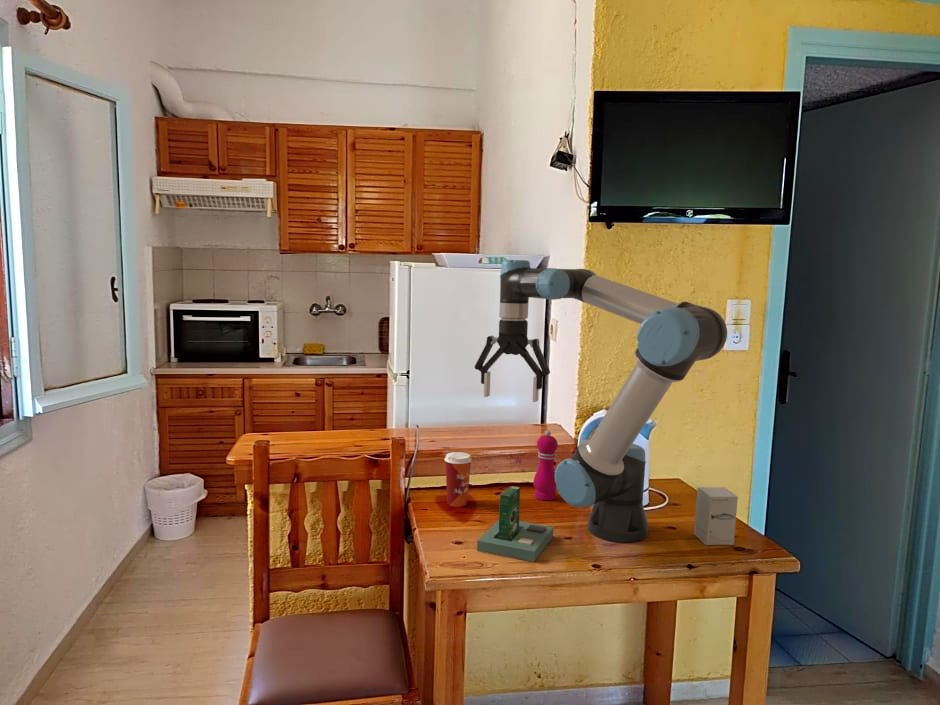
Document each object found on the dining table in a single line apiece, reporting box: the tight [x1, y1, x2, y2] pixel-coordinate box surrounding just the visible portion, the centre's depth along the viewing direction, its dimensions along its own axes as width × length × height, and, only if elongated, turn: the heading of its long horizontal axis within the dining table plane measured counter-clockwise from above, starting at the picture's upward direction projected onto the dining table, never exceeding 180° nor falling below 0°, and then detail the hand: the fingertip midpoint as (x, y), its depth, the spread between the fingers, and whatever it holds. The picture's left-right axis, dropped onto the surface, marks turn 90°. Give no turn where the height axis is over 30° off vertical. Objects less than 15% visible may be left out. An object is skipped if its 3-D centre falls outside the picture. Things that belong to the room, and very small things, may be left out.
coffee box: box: [498, 485, 521, 541], centre depth 162 cm, size 8×3×13 cm, turn 157°
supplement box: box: [693, 486, 739, 546], centre depth 166 cm, size 7×7×13 cm
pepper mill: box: [532, 430, 559, 501], centre depth 194 cm, size 7×7×20 cm
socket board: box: [476, 519, 554, 563], centre depth 162 cm, size 14×16×3 cm
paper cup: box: [444, 451, 473, 508], centre depth 188 cm, size 8×8×14 cm
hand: (510, 398), depth 178 cm, fingers open, 13 cm apart
